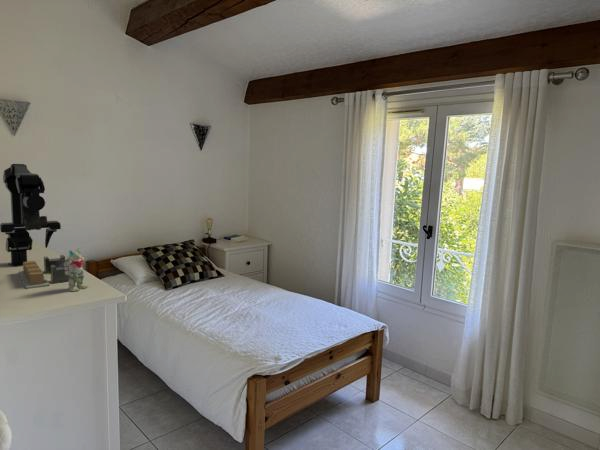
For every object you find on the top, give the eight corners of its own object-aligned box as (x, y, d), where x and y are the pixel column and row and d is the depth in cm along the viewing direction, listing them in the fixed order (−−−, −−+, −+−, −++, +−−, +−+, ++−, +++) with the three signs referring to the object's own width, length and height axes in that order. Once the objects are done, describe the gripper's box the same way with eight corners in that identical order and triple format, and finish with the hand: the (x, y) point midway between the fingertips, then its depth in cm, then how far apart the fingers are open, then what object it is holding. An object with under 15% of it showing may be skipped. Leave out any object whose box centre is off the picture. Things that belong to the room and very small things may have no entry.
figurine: (63, 293, 141) (61, 251, 139) (62, 287, 147) (60, 246, 145) (89, 290, 145) (87, 249, 143) (86, 284, 152) (85, 245, 149)
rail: (23, 271, 162) (22, 262, 161) (35, 270, 164) (34, 260, 164) (30, 285, 145) (30, 274, 145) (43, 283, 148) (43, 273, 147)
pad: (18, 272, 162) (18, 271, 162) (39, 270, 167) (39, 269, 167) (26, 288, 143) (26, 287, 143) (49, 285, 148) (49, 284, 148)
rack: (44, 271, 166) (43, 256, 165) (63, 269, 170) (63, 254, 169) (52, 283, 151) (52, 267, 150) (74, 280, 155) (73, 265, 154)
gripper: (1, 211, 139) (3, 255, 141) (62, 209, 151) (64, 250, 153) (-2, 207, 148) (1, 249, 150) (57, 206, 160) (58, 245, 162)
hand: (32, 248), depth 154 cm, fingers open, 9 cm apart
